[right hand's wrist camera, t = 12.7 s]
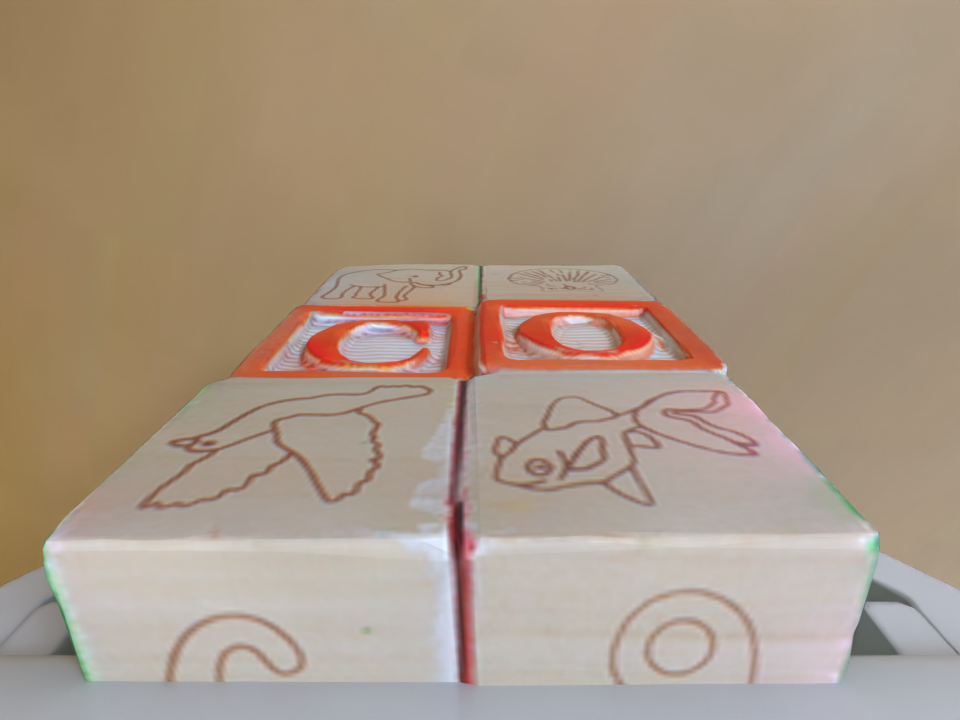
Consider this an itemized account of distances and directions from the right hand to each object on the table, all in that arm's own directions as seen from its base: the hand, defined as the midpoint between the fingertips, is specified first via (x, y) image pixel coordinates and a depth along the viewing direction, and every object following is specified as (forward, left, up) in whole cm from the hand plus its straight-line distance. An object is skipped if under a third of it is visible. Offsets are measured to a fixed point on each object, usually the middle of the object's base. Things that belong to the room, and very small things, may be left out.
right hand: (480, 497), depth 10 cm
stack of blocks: (+2, +7, -4) cm, 8 cm away
